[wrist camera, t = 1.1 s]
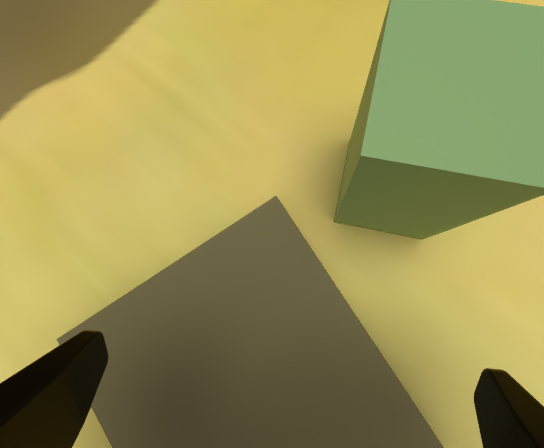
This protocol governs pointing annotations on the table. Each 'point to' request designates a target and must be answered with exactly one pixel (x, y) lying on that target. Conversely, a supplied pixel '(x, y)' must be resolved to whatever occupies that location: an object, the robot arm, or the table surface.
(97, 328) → the rubber mat
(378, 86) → the teal block
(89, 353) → the robot arm
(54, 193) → the table surface
